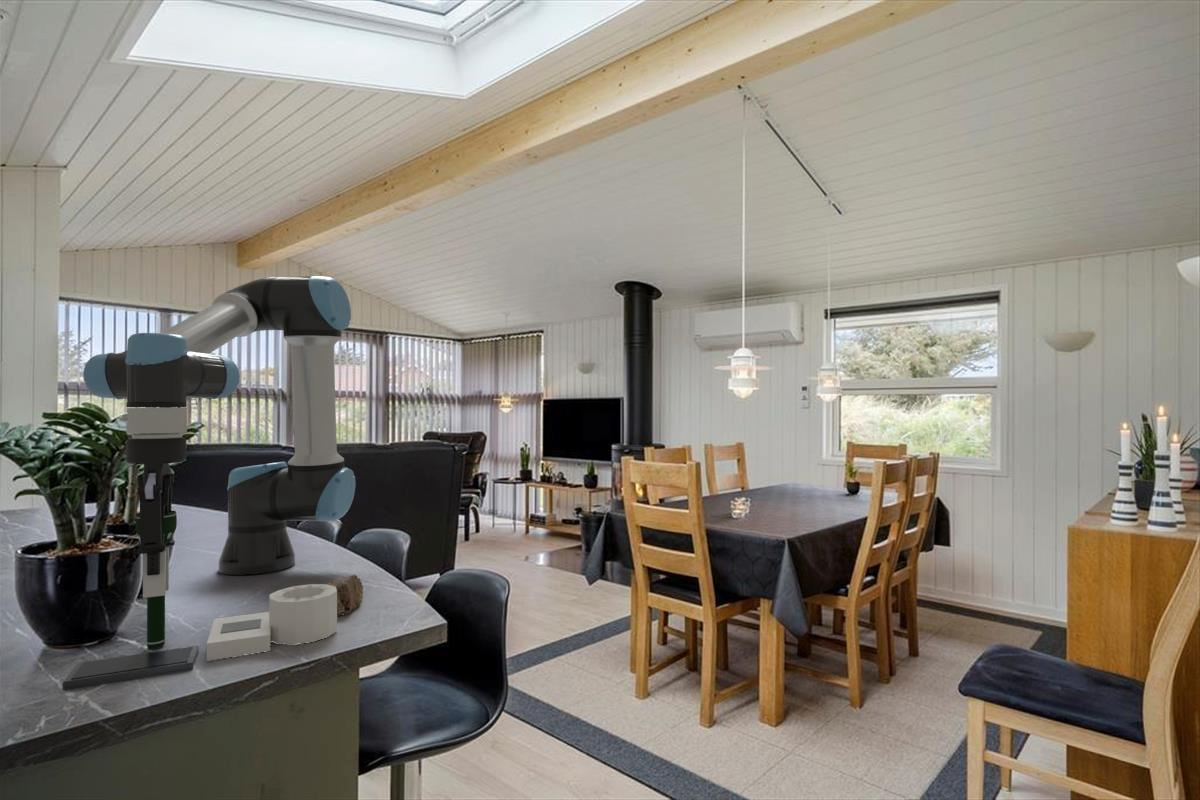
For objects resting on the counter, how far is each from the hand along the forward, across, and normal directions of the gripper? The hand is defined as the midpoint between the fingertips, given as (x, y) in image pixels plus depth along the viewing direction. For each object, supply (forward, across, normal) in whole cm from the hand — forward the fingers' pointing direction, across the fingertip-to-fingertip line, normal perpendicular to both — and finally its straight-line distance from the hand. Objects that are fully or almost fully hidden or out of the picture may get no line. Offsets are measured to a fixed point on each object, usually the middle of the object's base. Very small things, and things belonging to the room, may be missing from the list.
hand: (156, 593), depth 97 cm
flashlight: (+8, 0, 0) cm, 8 cm away
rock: (+8, -10, +25) cm, 28 cm away
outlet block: (+8, +4, +16) cm, 18 cm away
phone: (+8, +9, -1) cm, 12 cm away
